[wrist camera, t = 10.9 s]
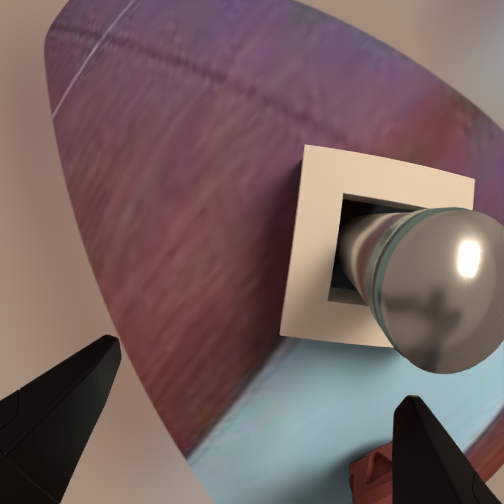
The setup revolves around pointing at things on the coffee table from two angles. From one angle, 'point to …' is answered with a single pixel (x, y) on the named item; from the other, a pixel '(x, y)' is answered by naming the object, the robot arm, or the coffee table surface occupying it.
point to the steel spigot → (430, 282)
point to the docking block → (326, 233)
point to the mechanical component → (372, 477)
